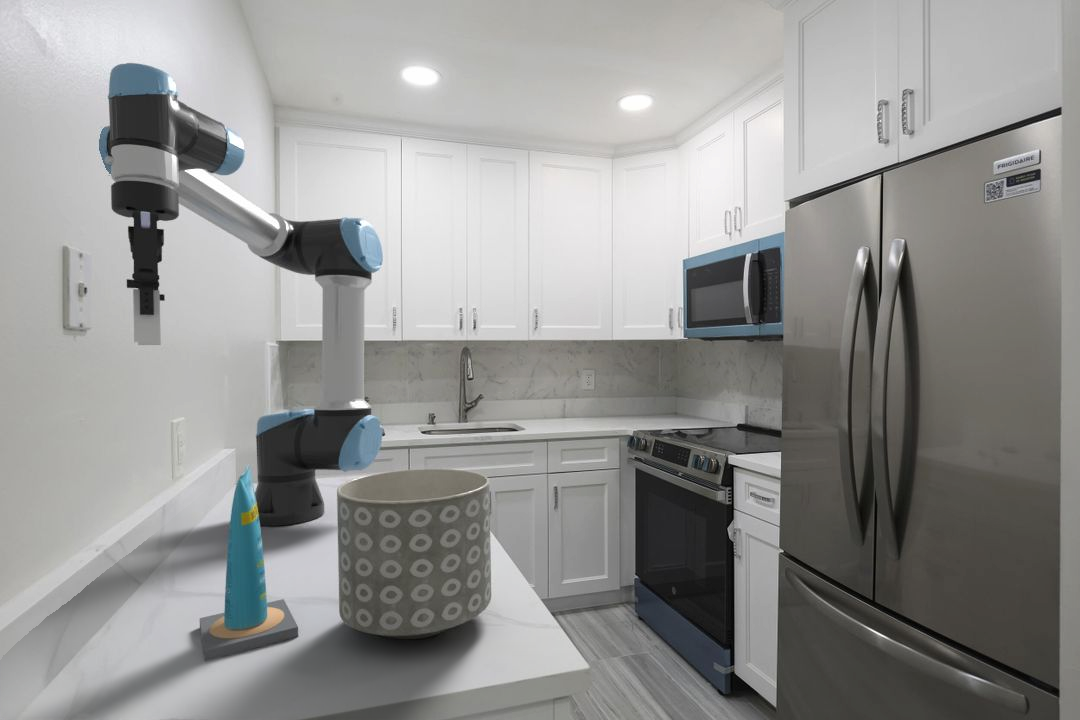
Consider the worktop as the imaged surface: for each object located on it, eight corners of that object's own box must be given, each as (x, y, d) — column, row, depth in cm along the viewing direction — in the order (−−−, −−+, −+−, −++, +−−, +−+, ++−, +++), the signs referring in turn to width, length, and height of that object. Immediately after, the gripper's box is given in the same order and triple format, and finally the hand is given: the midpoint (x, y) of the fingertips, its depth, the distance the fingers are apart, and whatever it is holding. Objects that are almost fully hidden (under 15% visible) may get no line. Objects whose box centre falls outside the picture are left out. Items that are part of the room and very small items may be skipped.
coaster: (199, 627, 74) (199, 617, 74) (283, 607, 79) (283, 598, 79) (204, 661, 65) (204, 649, 65) (298, 636, 71) (297, 625, 71)
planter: (337, 606, 79) (335, 475, 79) (471, 585, 86) (469, 464, 86) (342, 677, 62) (339, 508, 61) (510, 643, 68) (508, 491, 68)
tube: (267, 629, 70) (264, 472, 70) (222, 639, 68) (219, 476, 68) (267, 606, 77) (264, 462, 77) (226, 614, 75) (223, 466, 74)
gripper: (117, 204, 86) (119, 346, 86) (102, 153, 65) (106, 340, 65) (176, 210, 90) (179, 345, 90) (180, 164, 69) (184, 340, 69)
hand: (148, 343), depth 77 cm, fingers open, 13 cm apart
